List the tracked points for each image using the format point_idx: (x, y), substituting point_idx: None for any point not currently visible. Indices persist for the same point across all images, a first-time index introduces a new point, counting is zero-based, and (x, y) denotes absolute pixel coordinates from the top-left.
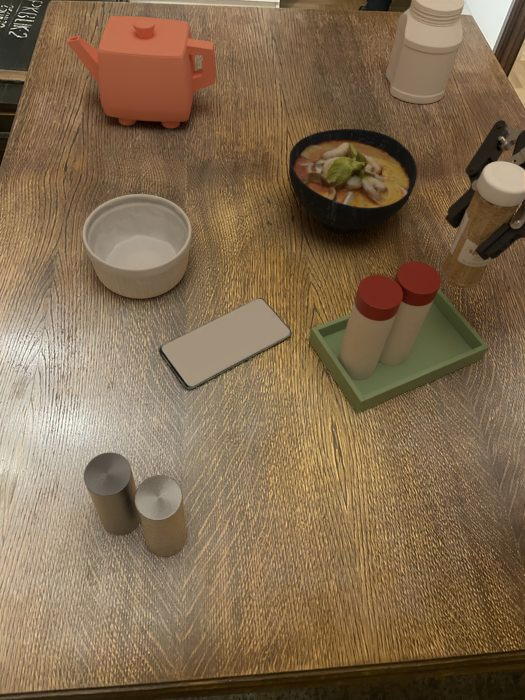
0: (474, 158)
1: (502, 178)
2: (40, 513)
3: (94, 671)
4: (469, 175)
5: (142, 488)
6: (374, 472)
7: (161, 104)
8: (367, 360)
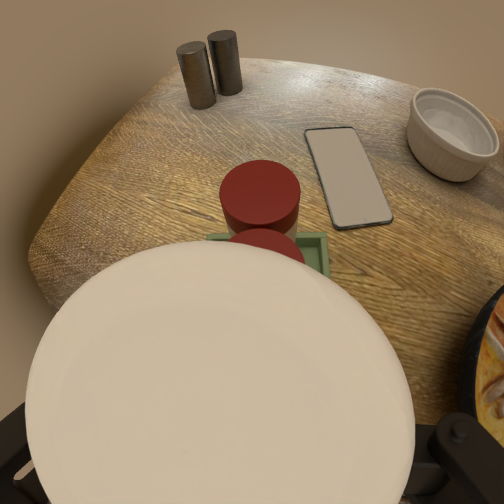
0: (498, 452)
1: (167, 364)
2: (253, 66)
3: (166, 77)
4: (439, 421)
5: (201, 43)
6: (152, 230)
7: None
8: None
